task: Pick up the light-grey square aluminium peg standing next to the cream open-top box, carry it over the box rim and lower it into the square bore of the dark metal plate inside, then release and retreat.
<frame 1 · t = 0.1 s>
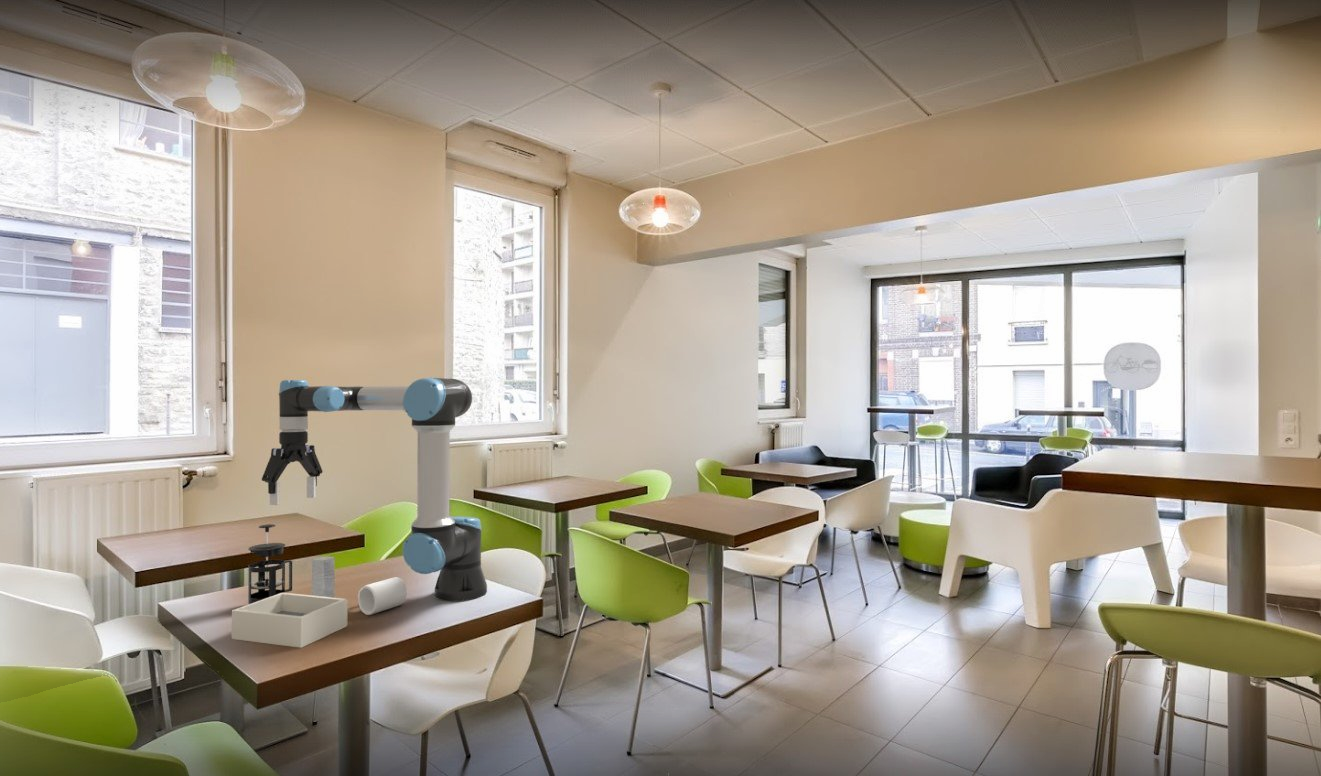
hand: (293, 501, 197), 28 cm above the table, fingers open, 13 cm apart
french press: (268, 606, 186), on the table
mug: (377, 609, 183), on the table
box: (291, 632, 165), on the table
peg: (323, 608, 184), on the table
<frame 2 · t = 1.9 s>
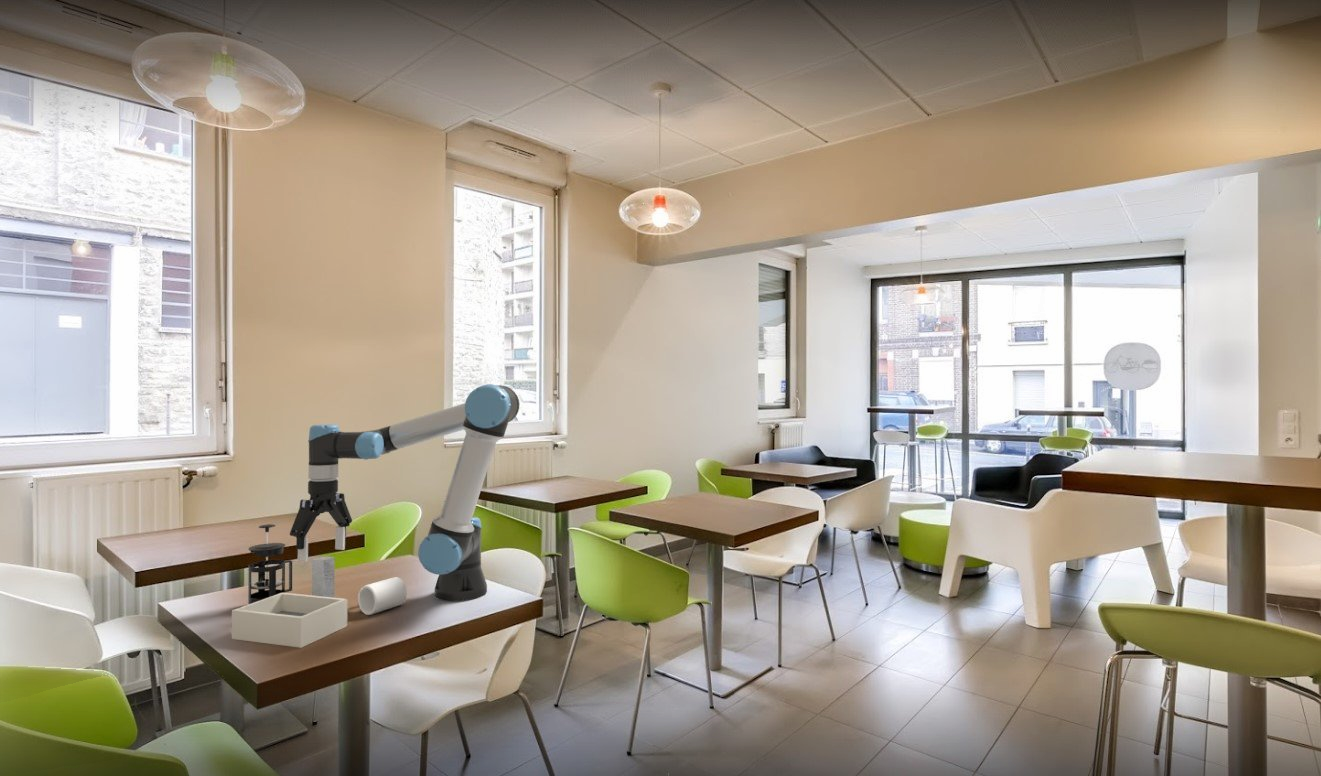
hand: (322, 554, 184), 15 cm above the table, fingers open, 13 cm apart
nothing on the table moved.
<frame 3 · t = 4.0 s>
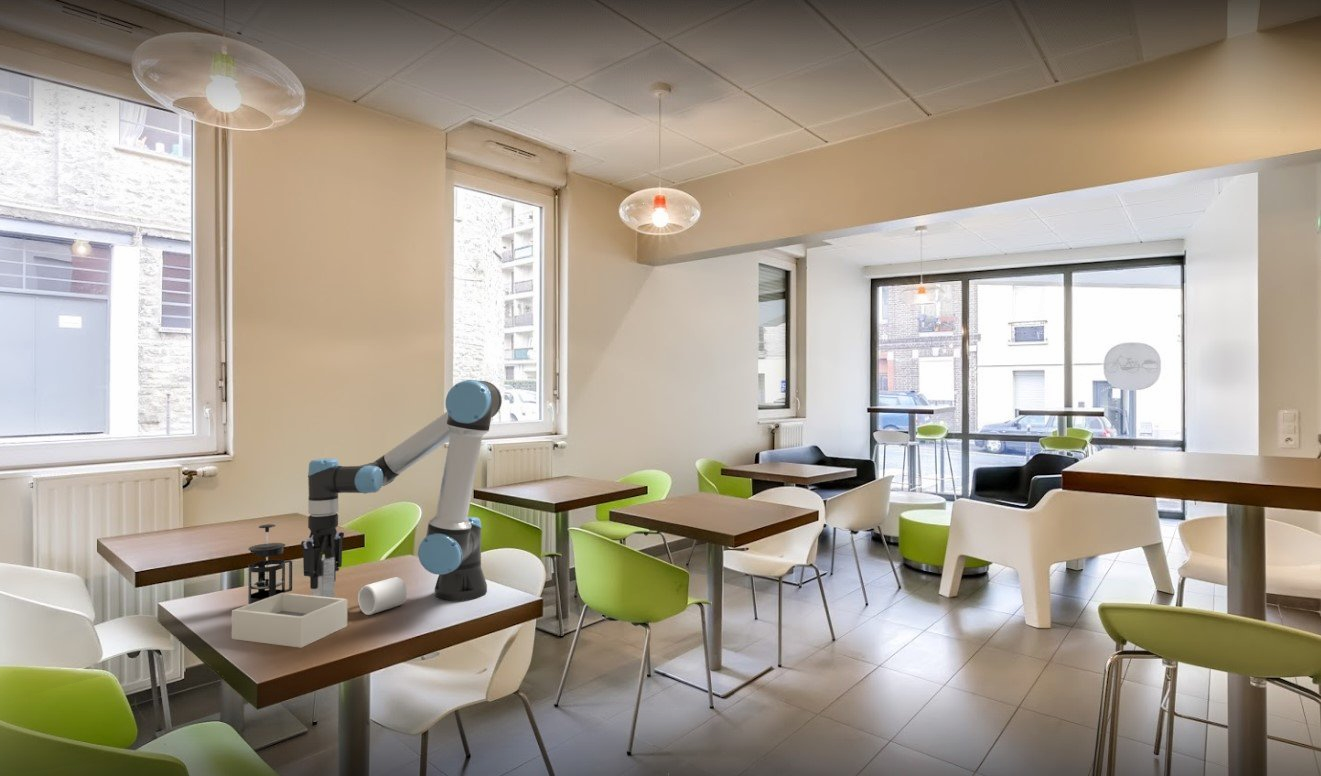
hand: (323, 596, 184), 3 cm above the table, fingers closed on peg, 4 cm apart
peg: (323, 608, 184), on the table, touching gripper
everything else where it was.
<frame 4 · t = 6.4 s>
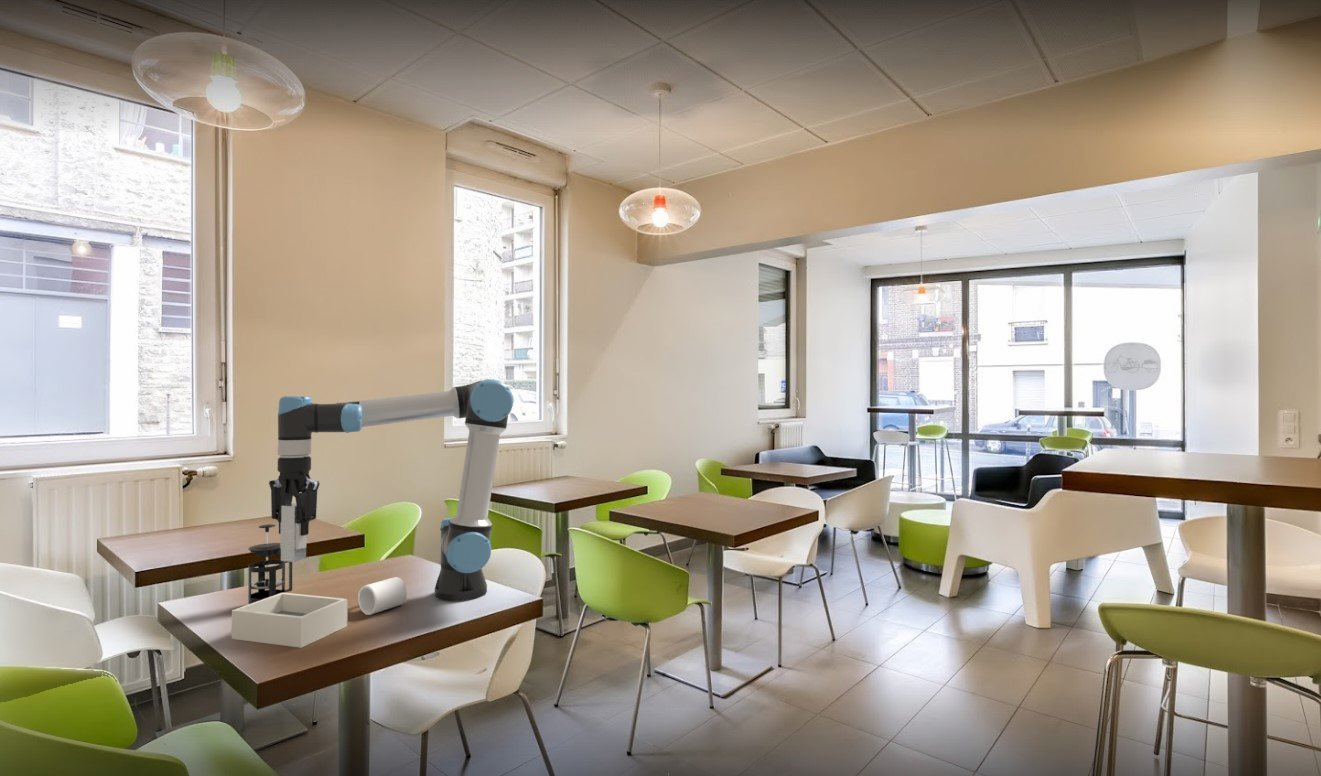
hand: (293, 547, 167), 21 cm above the table, fingers closed on peg, 4 cm apart
peg: (293, 559, 167), point 18 cm above the table, touching gripper
everything else where it was.
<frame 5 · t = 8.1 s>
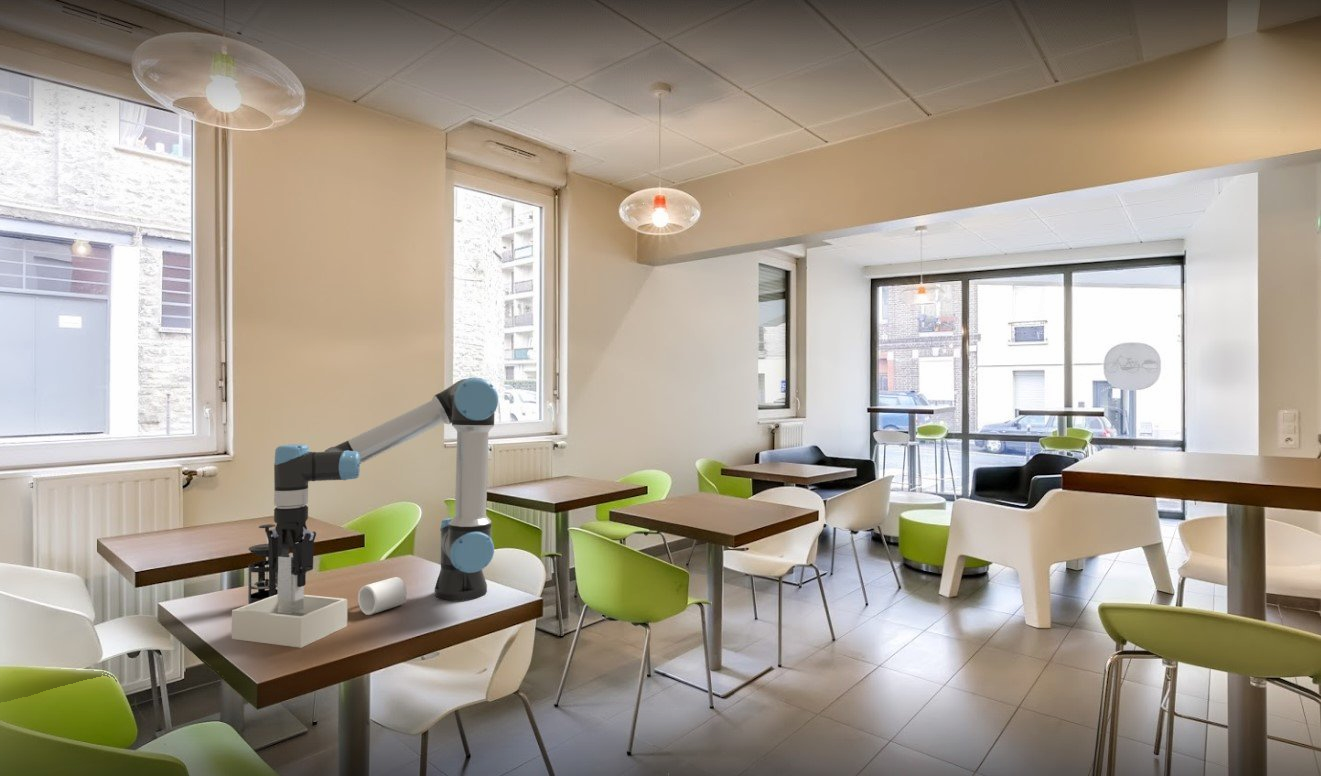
hand: (290, 598, 165), 9 cm above the table, fingers closed on peg, 4 cm apart
peg: (290, 610, 165), point 5 cm above the table, touching gripper
everything else where it was.
when the fingers open (4 cm above the table, at t = 9.2 s): peg stays where it is, resting in box.
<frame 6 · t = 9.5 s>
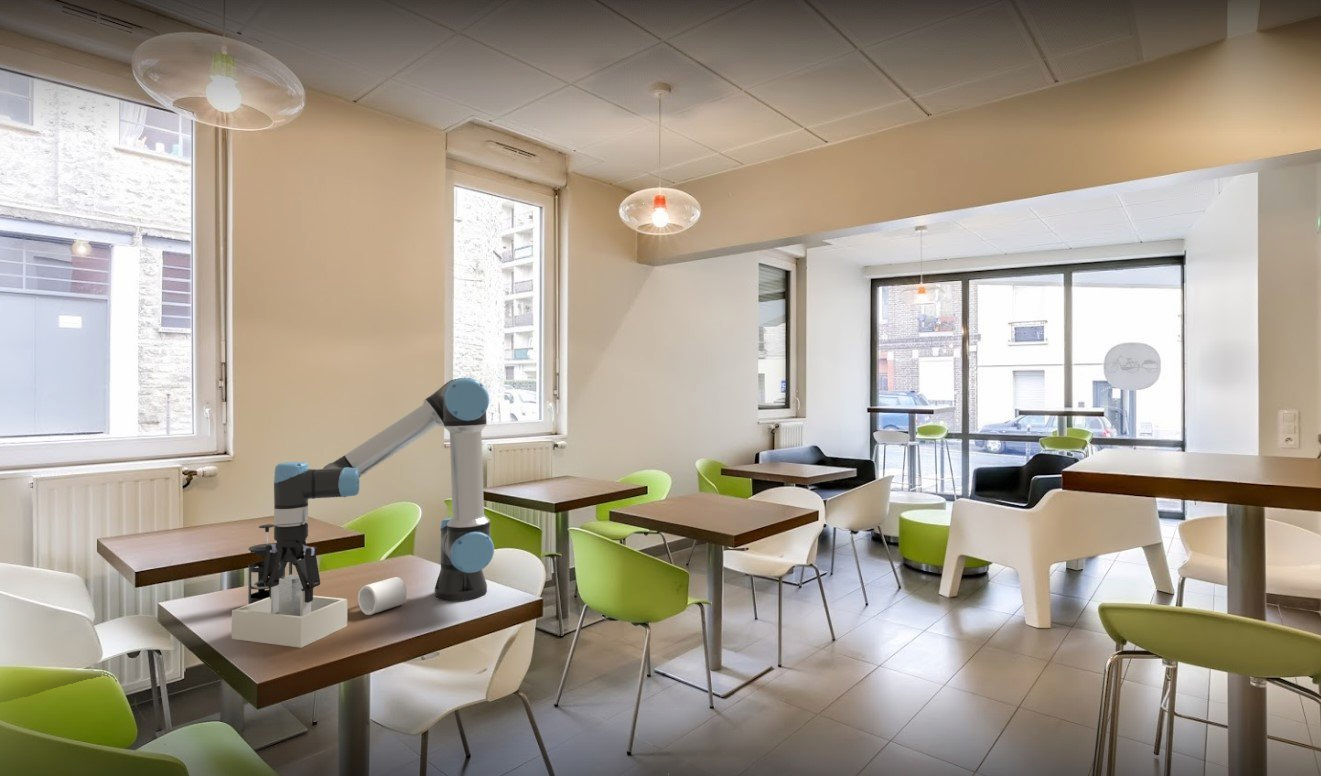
hand: (291, 613, 165), 5 cm above the table, fingers open, 8 cm apart
peg: (291, 632, 165), resting in box
everything else where it was.
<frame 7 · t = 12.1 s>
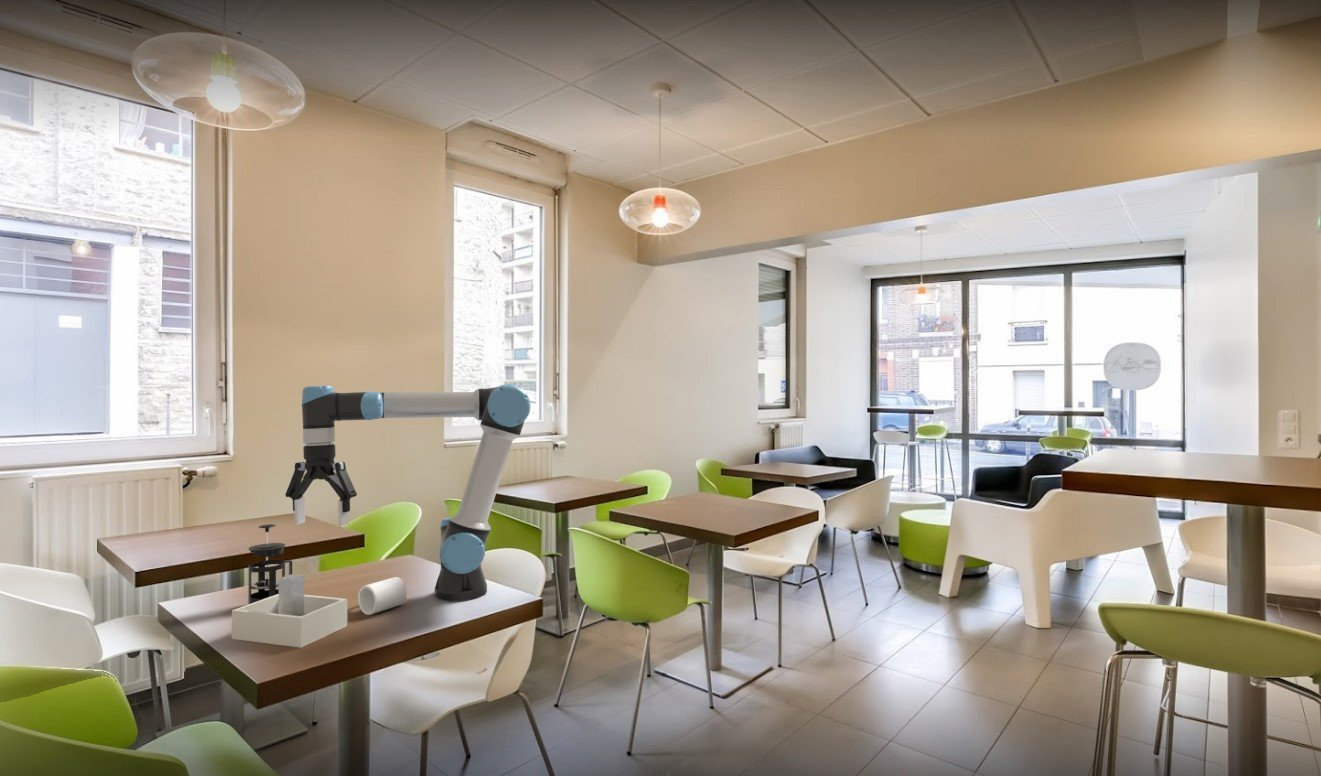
hand: (321, 524, 173), 26 cm above the table, fingers open, 13 cm apart
nothing on the table moved.
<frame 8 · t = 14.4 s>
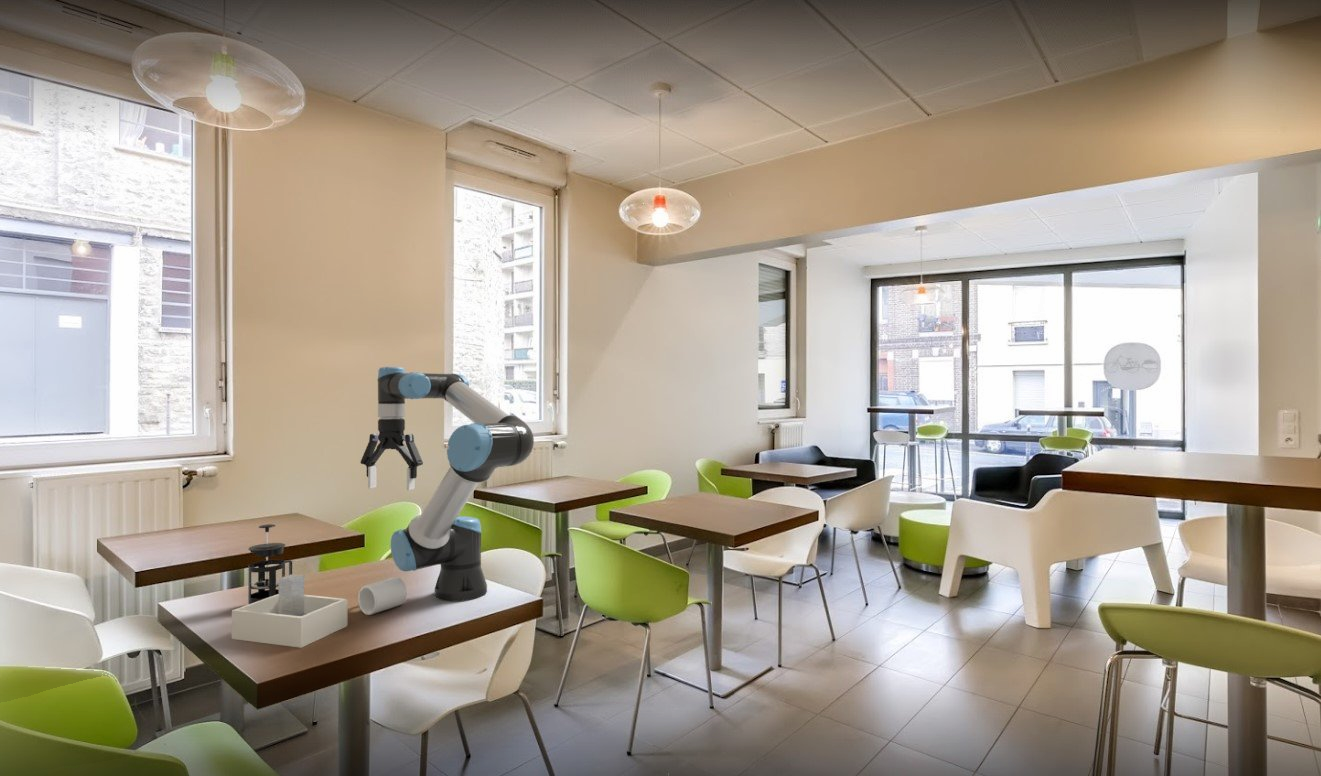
hand: (391, 488, 197), 32 cm above the table, fingers open, 13 cm apart
nothing on the table moved.
at the end: peg 0.1 cm off-centre on the box, point 0.0 cm above the box's base; peg tilted 0°; the gripper is holding nothing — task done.
